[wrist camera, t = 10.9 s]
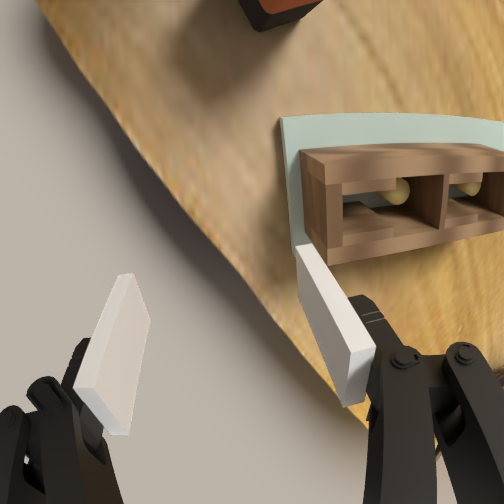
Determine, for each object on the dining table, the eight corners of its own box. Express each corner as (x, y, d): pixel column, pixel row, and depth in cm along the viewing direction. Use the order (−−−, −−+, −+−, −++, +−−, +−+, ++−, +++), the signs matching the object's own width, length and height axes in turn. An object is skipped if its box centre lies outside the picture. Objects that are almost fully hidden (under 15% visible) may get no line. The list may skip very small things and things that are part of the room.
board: (291, 252, 29) (303, 275, 25) (279, 117, 23) (291, 120, 19) (499, 216, 30) (521, 229, 26) (507, 122, 24) (533, 129, 21)
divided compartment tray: (304, 231, 26) (327, 266, 21) (298, 149, 23) (324, 164, 18) (474, 206, 27) (511, 228, 22) (479, 143, 24) (520, 157, 19)
